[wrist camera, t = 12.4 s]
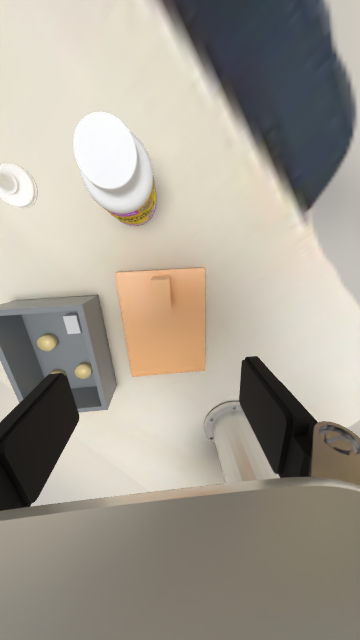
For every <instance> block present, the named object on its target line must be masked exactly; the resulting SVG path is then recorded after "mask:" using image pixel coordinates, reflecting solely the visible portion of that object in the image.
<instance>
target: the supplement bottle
mask: <svg viewBox="0 0 360 640" xmlns="http://www.w3.org/2000/svg"><path fill="white" fill-rule="evenodd" d="M73 150H74V155H75V159H76V162H77V164H78V166H79V169H80V174H81V178H82V181H83V183H84V186H85V188H86V189H87V191H88V192H89V194H90V195H91V197H92V198H93V199H94V200H95V201H96V202H97V203H98V204H99V205H100V206H102V207H103V208H104V209H106V210H107V211H108V212H109V213H111V214H112V215H113V216H115V217H116V218H117V219H118V220H120V221H121V222H123V223H125V224H127V225H131V226H138V225H142V224H144V223H146V222H147V221H148V220H149V219H150V218H151V217H152V215H153V213H154V211H155V208H156V191H155V184H154V177H153V169H152V164H151V161H150V158H149V155H148V153H147V151H146V149H145V147H144V146H143V144H142V143H141V141H140V140H139V139H138V138H137V137H136V136H135V135H134V134H133V133H131V132H130V131H129V129H128V128H127V126H126V125H125V124H124V123H123V122H122V121H121V120H120V119H119V118H117V117H116V116H114V115H112V114H110V113H107V112H100V111H98V112H93V113H90V114H88V115H86V116H85V117H84V118H83V119H82V120H81V121H80V122H79V123H78V125H77V127H76V130H75V132H74V137H73Z"/></svg>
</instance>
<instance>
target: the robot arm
mask: <svg viewBox="0 0 360 640" xmlns="http://www.w3.org/2000/svg"><path fill="white" fill-rule="evenodd" d="M78 421H79V413H78V410H77V406H76V403H75V400H74V397H73V394H72V390H71V387H70V384H69V381H68V378H67V376H66V375H64V374H63V373H54V374H49V375H47V376H46V377H45V378H44V379H43V380H42V381H41V382H40V383H39V384H38V385H37V386H36V387H35V388H34V389H33V390H32V391H31V392H30V393H29V394H28V395H27V396H26V397H25V398H24V399H23V400H22V401H21V402H20V403H19V404H18V405H17V406H16V407H15V408H14V409H13V410H12V411H11V412H10V413H9V414H8V415H7V416H6V417H5V418H4V419H3V420H2V421H1V422H0V640H360V438H359V437H358V436H357V435H355V434H354V433H353V432H352V431H350V430H348V429H347V428H345V427H343V426H341V425H339V424H336V423H332V422H326V421H323V422H317V421H316V420H315V419H314V418H313V416H312V415H311V414H310V413H309V412H308V411H307V410H306V409H305V408H304V407H303V406H302V404H301V403H300V402H299V401H298V400H297V399H296V398H295V397H294V396H293V395H292V393H291V392H290V391H289V390H288V389H287V388H286V387H285V386H284V385H283V384H282V382H280V381H279V380H278V379H277V378H276V377H275V375H274V374H273V373H272V372H271V371H270V370H269V369H268V368H267V367H266V366H265V364H264V363H263V362H262V361H261V360H260V359H259V358H258V357H257V356H253V357H246V358H245V360H242V367H241V382H240V396H239V402H238V401H236V402H228V403H225V404H222V405H220V406H218V407H216V408H215V409H214V410H212V411H211V412H210V413H209V414H208V416H207V418H206V420H205V423H204V429H205V433H206V436H207V438H208V439H209V440H210V441H211V442H212V443H214V444H215V445H216V448H217V452H218V456H219V460H220V464H221V467H222V471H223V475H224V479H225V484H216V485H207V486H198V487H190V488H181V489H172V490H164V491H155V492H147V493H138V494H130V495H122V496H114V497H105V498H97V499H89V500H81V501H73V502H65V503H57V504H49V505H41V506H33V507H30V505H31V504H32V503H33V502H35V501H36V500H37V498H38V497H39V495H40V492H41V491H42V489H43V487H44V485H45V483H46V481H47V479H48V478H49V476H50V474H51V472H52V470H53V468H54V466H55V464H56V463H57V461H58V459H59V457H60V455H61V453H62V451H63V449H64V448H65V446H66V444H67V442H68V440H69V438H70V436H71V435H72V433H73V431H74V429H75V427H76V425H77V423H78Z"/></svg>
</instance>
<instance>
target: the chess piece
mask: <svg viewBox="0 0 360 640" xmlns="http://www.w3.org/2000/svg"><path fill="white" fill-rule="evenodd" d="M0 197H1V198H2V199H3V200H4V201H5V202H7V203H8V204H10V205H12V206H14V207H16V208H20V209H25V208H29V207H31V206H32V205H33V204H34V203H35V201H36V199H37V187H36V184H35V182H34V180H33V178H32V177H31V175H30V174H29V173H28V172H27V171H26V170H25V169H23V168H21V167H19V166H17V165H14V164H11V163H4V164H1V165H0Z"/></svg>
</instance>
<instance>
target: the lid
mask: <svg viewBox="0 0 360 640" xmlns="http://www.w3.org/2000/svg"><path fill="white" fill-rule="evenodd" d="M115 276H116V282H117V289H118V295H119V301H120V307H121V313H122V319H123V325H124V331H125V337H126V343H127V349H128V355H129V361H130V367H131V373H132V377H134V376H146V375H158V374H170V373H182V372H193V371H205V268H185V269H167V270H149V271H131V272H116V273H115Z"/></svg>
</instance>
